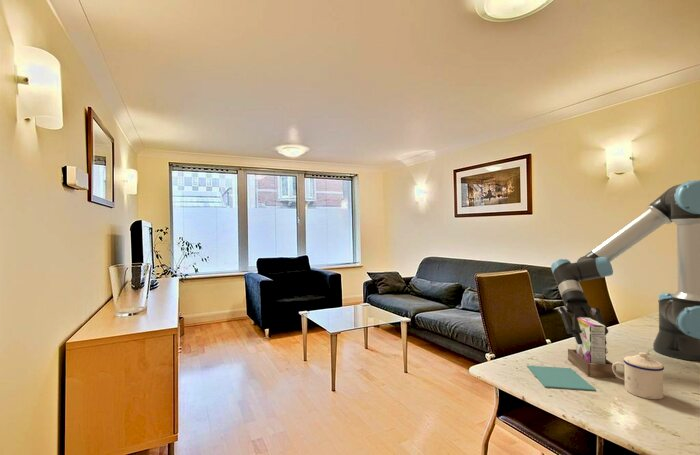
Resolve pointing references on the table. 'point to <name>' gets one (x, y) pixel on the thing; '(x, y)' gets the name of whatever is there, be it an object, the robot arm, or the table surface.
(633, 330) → the table surface
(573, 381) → the rubber mat
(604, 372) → the walnut sleeve
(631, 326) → the table surface
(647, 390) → the teacup with lid
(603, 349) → the candy bar box
